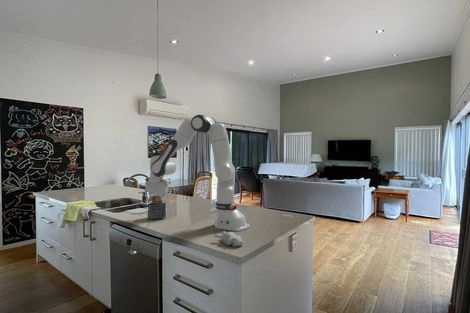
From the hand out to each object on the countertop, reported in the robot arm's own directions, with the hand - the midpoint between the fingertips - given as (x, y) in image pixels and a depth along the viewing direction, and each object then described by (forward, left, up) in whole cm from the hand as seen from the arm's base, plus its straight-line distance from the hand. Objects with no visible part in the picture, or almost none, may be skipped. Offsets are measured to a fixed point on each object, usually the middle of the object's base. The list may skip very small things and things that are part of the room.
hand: (156, 199), depth 183 cm
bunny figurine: (-69, +11, -13) cm, 71 cm away
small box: (0, 0, -13) cm, 13 cm away
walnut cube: (0, 0, -3) cm, 3 cm away
